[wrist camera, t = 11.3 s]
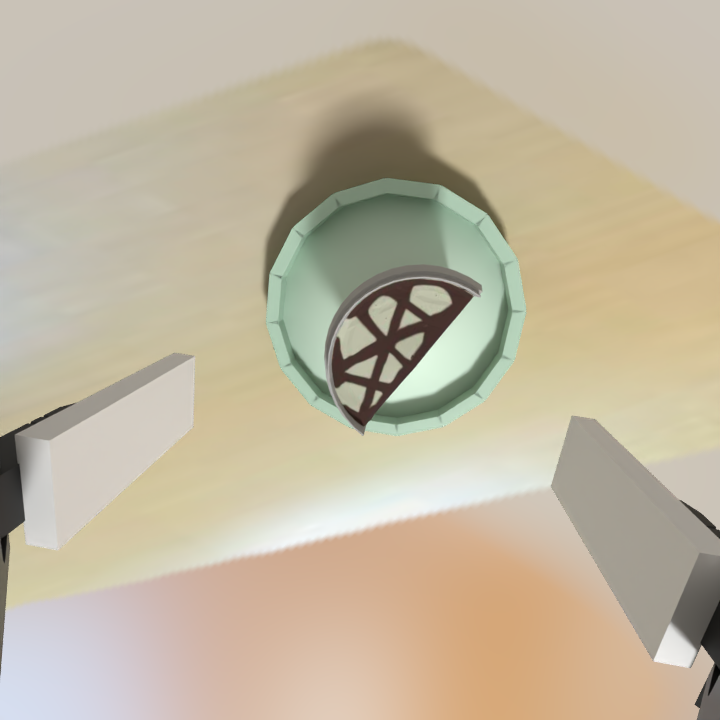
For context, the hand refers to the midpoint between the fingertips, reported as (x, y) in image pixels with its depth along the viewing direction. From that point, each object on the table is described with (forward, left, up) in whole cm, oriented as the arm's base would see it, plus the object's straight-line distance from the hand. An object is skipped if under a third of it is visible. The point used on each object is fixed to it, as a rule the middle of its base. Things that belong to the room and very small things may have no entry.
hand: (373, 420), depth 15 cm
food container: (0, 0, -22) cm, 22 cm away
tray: (0, 0, -23) cm, 23 cm away
